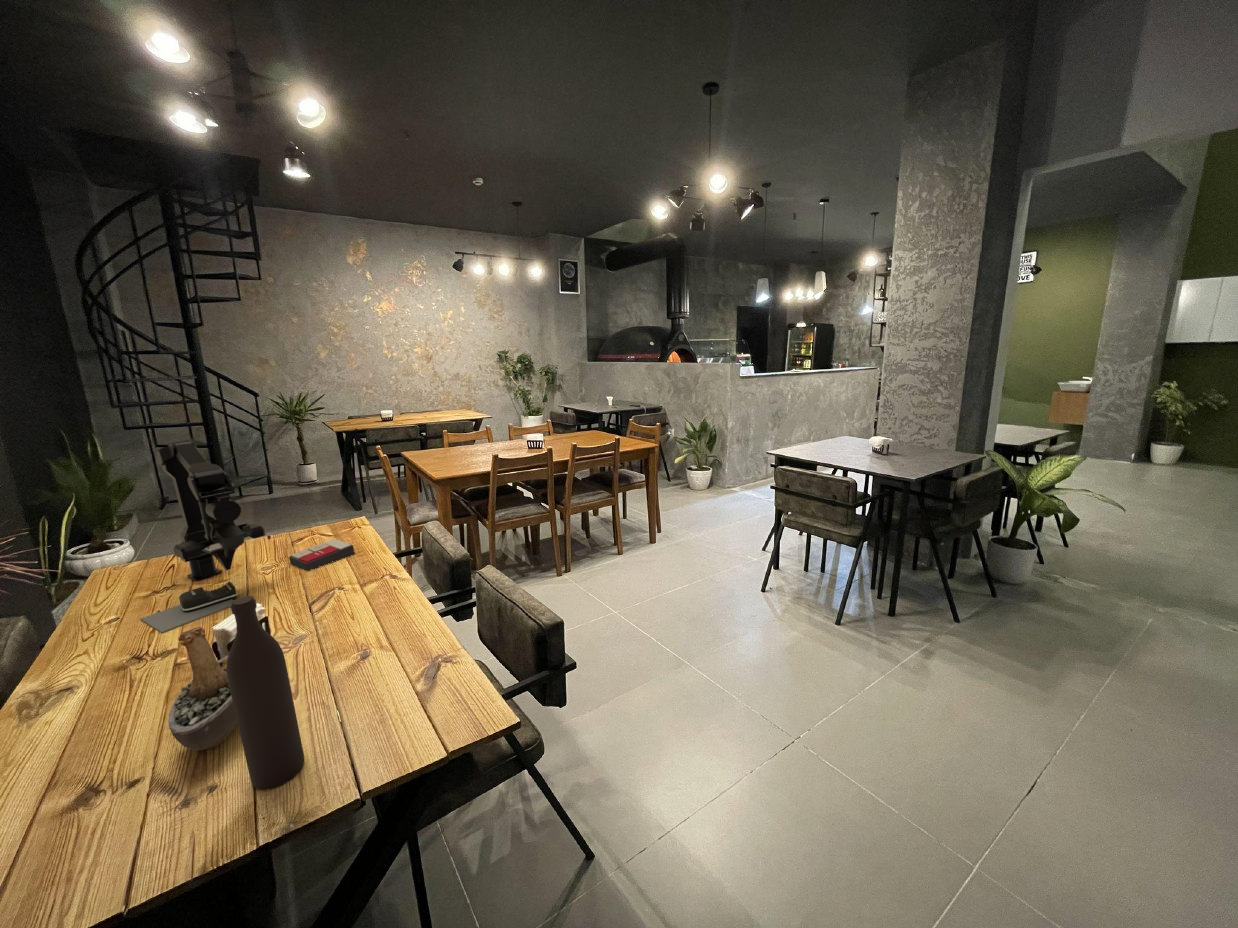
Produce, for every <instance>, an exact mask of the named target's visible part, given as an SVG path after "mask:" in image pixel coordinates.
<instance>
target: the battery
mask: <svg viewBox="0 0 1238 928" xmlns="http://www.w3.org/2000/svg"><path fill="white" fill-rule="evenodd" d="M237 597H238V593H237V590H236V586H235V585H234V584H233V582H231V581H227V583H225V584H224V585H223V586H221V587H219V588H215V589H212V590H206V589H204V588H203V587H202V586H201V587H196V588H194V589H191V590H188V591H185V592H182V593H181V594H180V595H179V597H178V600H179V605H180V606H181V608H182V610H183V611H184V612H192V611H195V610H199V609H202V608H205V607H208V606H211V605H214V604H218V603H221V602H224V601H227V600H230V599H232V600H234V599H237Z"/></svg>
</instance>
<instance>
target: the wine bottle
mask: <svg viewBox="0 0 1238 928" xmlns="http://www.w3.org/2000/svg"><path fill="white" fill-rule="evenodd" d="M233 600H234V601H233V602H232V605H231V607H230V610H231V614H232V615H233V616H234V619H235V623H236V634H235V637H234V640H233V643H232V645H231V647H230V648H229V649H230V650H229V652H228V655H227V656H228V658H227V667H226V671H227V678H228V683H229V688H230V692H231V697H232V701H233V705H234V710H235V714H236V718H237V723H238V724H237V725H238V727H237V728H238V731H239V736H240V739H241V744H242V748H243V752H244V756H245V757H244V758H245V762H246V765H247V770H248V776H249V778H250V782H251V785H252V787H254V788H255V789H256V790H258V791H259V790H260V791H269V790H273V789H277V788H278V787H281V786H283V785H285V784H287V783H289V782H290V781H291V780H293V779H294V778H295V777H296V776H297V775H299V773H301V770H302V769H303V768H304V765H305V753H304V748H303V744H302V738H301V733H300V727H299V723H298V718H297V713H296V708H295V703H294V698H293V693H292V687H291V681H290V677H289V673H288V667H287V662H286V657H285V655H284V654H285V653H284V650H283V649H282V646H281V645H280V644H279V642H278V641H277V640H276V638H275V637H274V636H273V635H271V634H270V633H269V632H268V631H267V630H265V629H264V627H263V626H261V624H260V621H259V619H258V615H257V601H256V599H255V598H254V596H251V595H247V596H242V597H239V598H235V599H233ZM268 789H269V790H268Z"/></svg>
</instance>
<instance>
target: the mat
mask: <svg viewBox="0 0 1238 928" xmlns="http://www.w3.org/2000/svg"><path fill="white" fill-rule="evenodd" d="M234 600H235V599H230V600H227V601H224V602H221V603H218V604H214V605H211V606H208V607H205V608H202V609H199V610H195V611H192V612H184V611H183V610H182V608H181V606H180V604H177V605H175V606H172V607H168V608H167V609H164V610H161V611H158V612H155V613H153V614H149V615H147V616H145V617H141V618H140V621H141V622H143V623H144V624H146V625H148V626H149V627H151V628H153V629H154V630H156V631H157V632H159V633H161V634H164V633H167V632H170V631H172V630H175V629H177V628H180V627H182V626H185V625H188V624H190V623H193V622H195V621H198V620H201V619H203V618H206V617H208V616H211V615H214V614H216V613H219V612H222V611H224V610H227V609H228V608H231V605H232V602H233V601H234Z"/></svg>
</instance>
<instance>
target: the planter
mask: <svg viewBox="0 0 1238 928" xmlns="http://www.w3.org/2000/svg"><path fill="white" fill-rule="evenodd" d="M205 630H206V629H205V628H203V627H202V626H197V627H194V628H191V629H188V630H185V631H183V632H181V633H180V634H179V635H178V636H177V637H178V641H181V642H180V646H182V647H185V649H186V652H187V656H188V661H189V663H190V667H191V670H192V679H191V680H190V682H188V684H186V685H185V687H181V691H179V692H178V696H177V697H176V698H175V700H174V702H173V704H172V705H171V708H170V710H169V713H168V719H167V720H168V721H167V722H168V727H169V730H170V732H171V735H172V736H173V737H174V739H175V740H176V741H177V742H178V743H180V745H182V746H183V747H185V748H187V749H189V750H190V751H202V750H210V749H215V748H216V747H217V746H219V745H220V744H221V743H223V742H224V741H225V740H226V739H227V738H228V737H229V735H231V734H232V732H233V731H234V730H235V729H236V728H237V725H238V723H237V718H236V714H235V710H234V705H233V701H232V697H231V692H230V688H229V683H228V678H227V671H226V667H227V658H228V655H226V656H224V657H222V658H221V659H217V658H216V656H215V653H214V651H213V648H212V647H211V644H210V643H209V641H208V639H207V638H206V631H205Z"/></svg>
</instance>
